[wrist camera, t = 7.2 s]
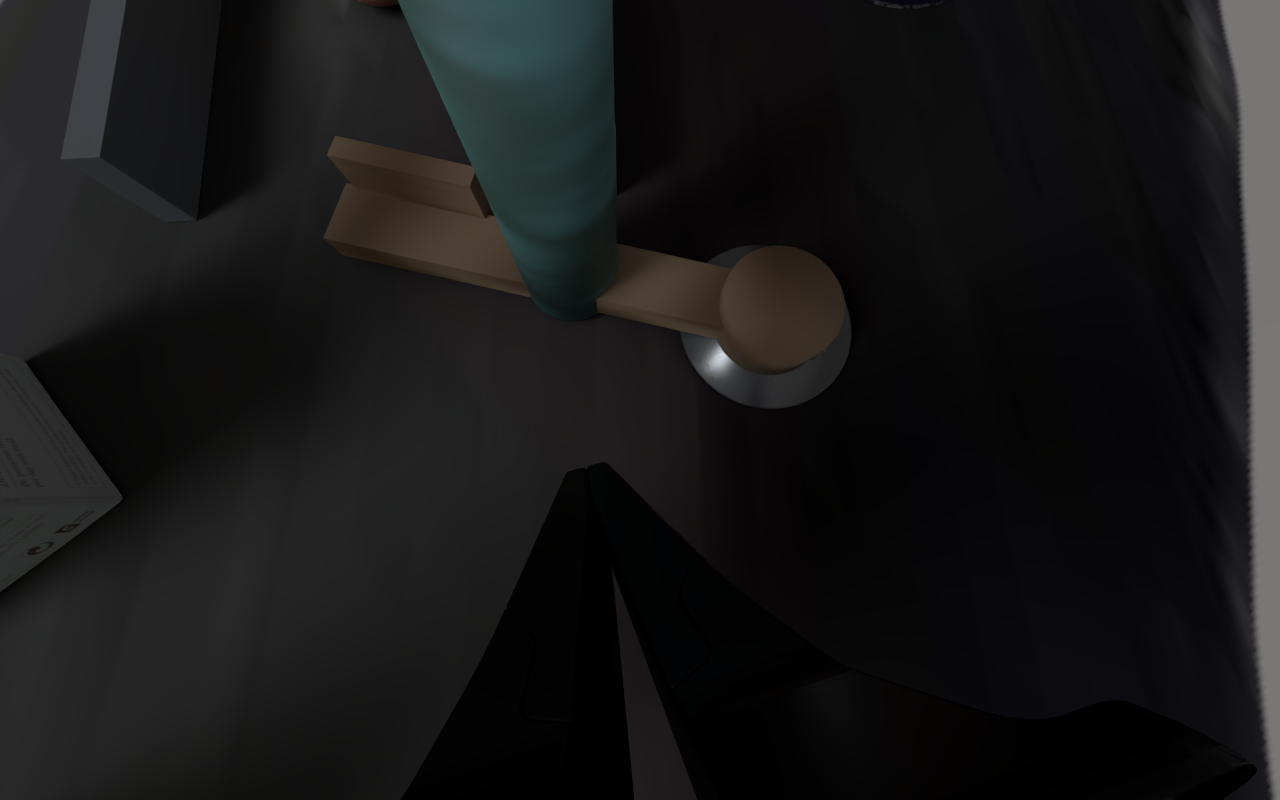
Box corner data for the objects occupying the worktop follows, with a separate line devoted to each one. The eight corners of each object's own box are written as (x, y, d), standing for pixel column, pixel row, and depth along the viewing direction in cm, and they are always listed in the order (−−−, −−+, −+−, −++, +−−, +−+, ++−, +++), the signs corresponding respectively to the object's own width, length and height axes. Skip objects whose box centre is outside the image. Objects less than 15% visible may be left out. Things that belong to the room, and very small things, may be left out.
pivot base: (813, 232, 19) (815, 228, 19) (872, 384, 18) (877, 382, 18) (658, 269, 19) (658, 265, 18) (708, 429, 17) (709, 428, 17)
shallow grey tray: (616, 195, 19) (615, 130, 16) (165, 222, 18) (61, 159, 15) (590, -63, 22) (585, -164, 19) (201, -53, 21) (121, -158, 18)
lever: (826, 285, 19) (1186, -83, 7) (812, 387, 18) (1202, 163, 6) (374, 185, 19) (-51, -353, 7) (336, 280, 18) (-232, -152, 6)
